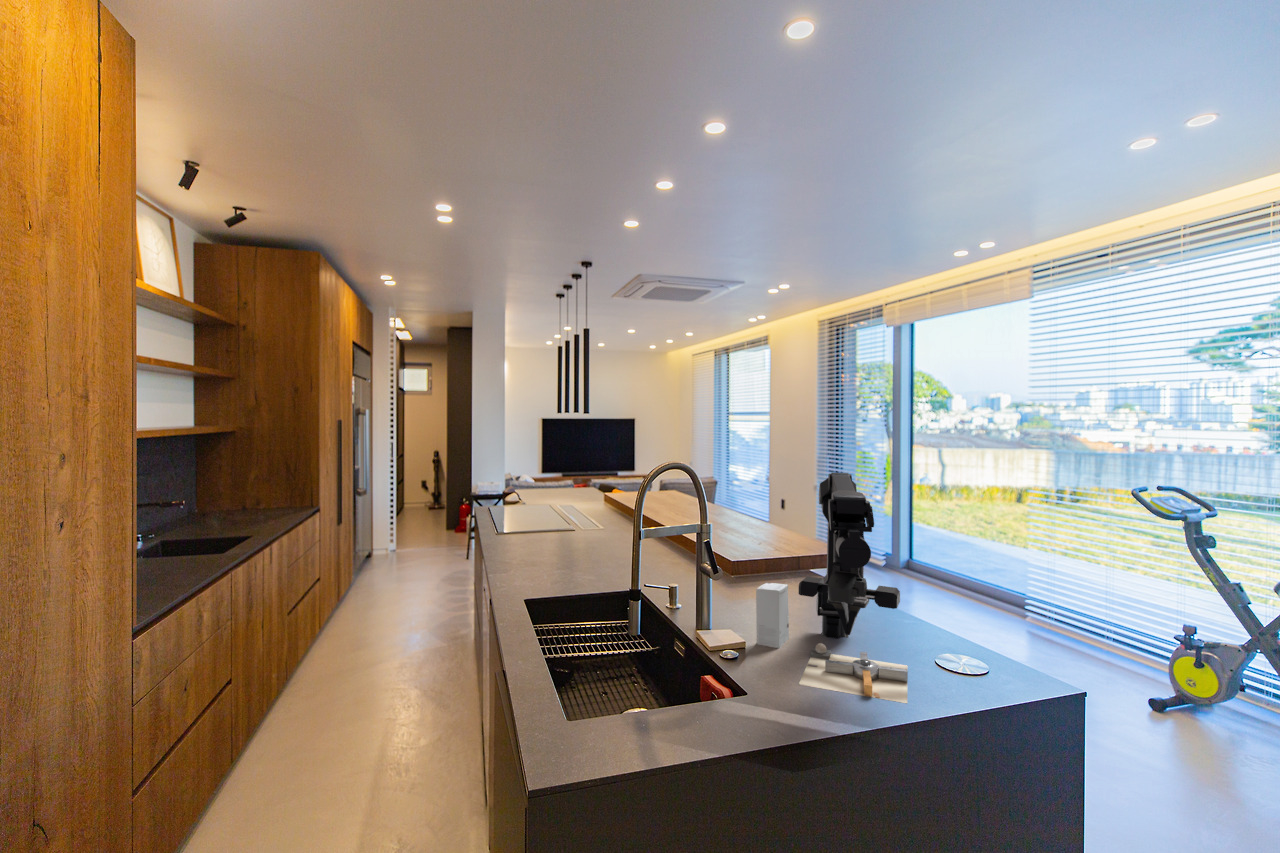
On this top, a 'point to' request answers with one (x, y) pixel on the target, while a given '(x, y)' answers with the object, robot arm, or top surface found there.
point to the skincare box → (772, 614)
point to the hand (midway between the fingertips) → (848, 634)
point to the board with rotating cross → (850, 677)
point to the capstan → (866, 671)
